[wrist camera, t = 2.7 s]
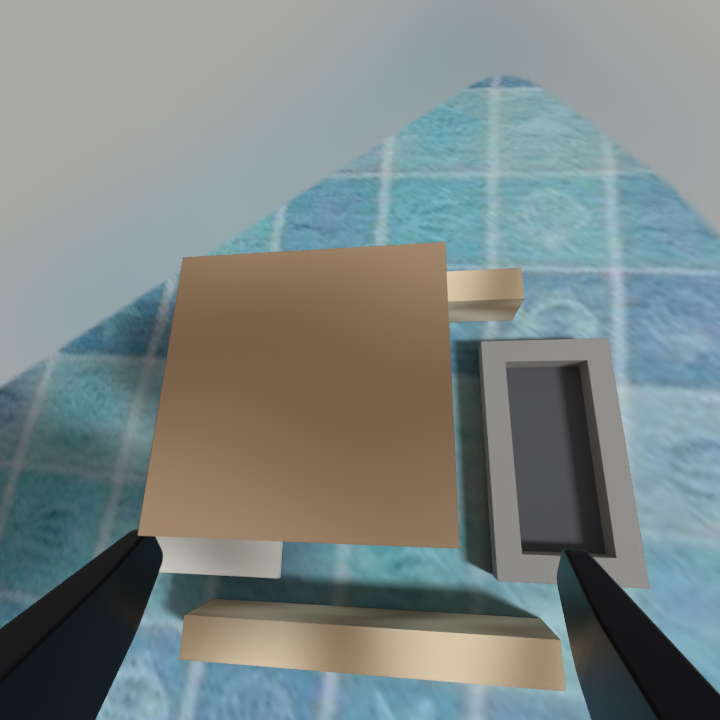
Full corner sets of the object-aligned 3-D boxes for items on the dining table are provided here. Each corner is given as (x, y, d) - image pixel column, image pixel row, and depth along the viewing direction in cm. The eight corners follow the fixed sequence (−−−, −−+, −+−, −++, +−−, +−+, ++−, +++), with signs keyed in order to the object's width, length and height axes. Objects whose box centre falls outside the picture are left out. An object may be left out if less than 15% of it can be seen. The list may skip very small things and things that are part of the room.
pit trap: (597, 346, 20) (608, 338, 18) (633, 581, 17) (649, 588, 16) (477, 349, 20) (481, 341, 19) (492, 574, 17) (497, 580, 16)
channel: (509, 292, 21) (521, 267, 19) (544, 661, 16) (565, 691, 14) (246, 303, 23) (226, 282, 20) (210, 636, 18) (178, 659, 16)
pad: (296, 344, 22) (294, 342, 21) (280, 577, 18) (278, 578, 18) (172, 348, 23) (169, 346, 22) (137, 569, 19) (132, 571, 19)
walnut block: (430, 504, 19) (458, 548, 5) (332, 502, 19) (137, 536, 6) (427, 405, 20) (444, 241, 7) (335, 405, 20) (182, 257, 7)
